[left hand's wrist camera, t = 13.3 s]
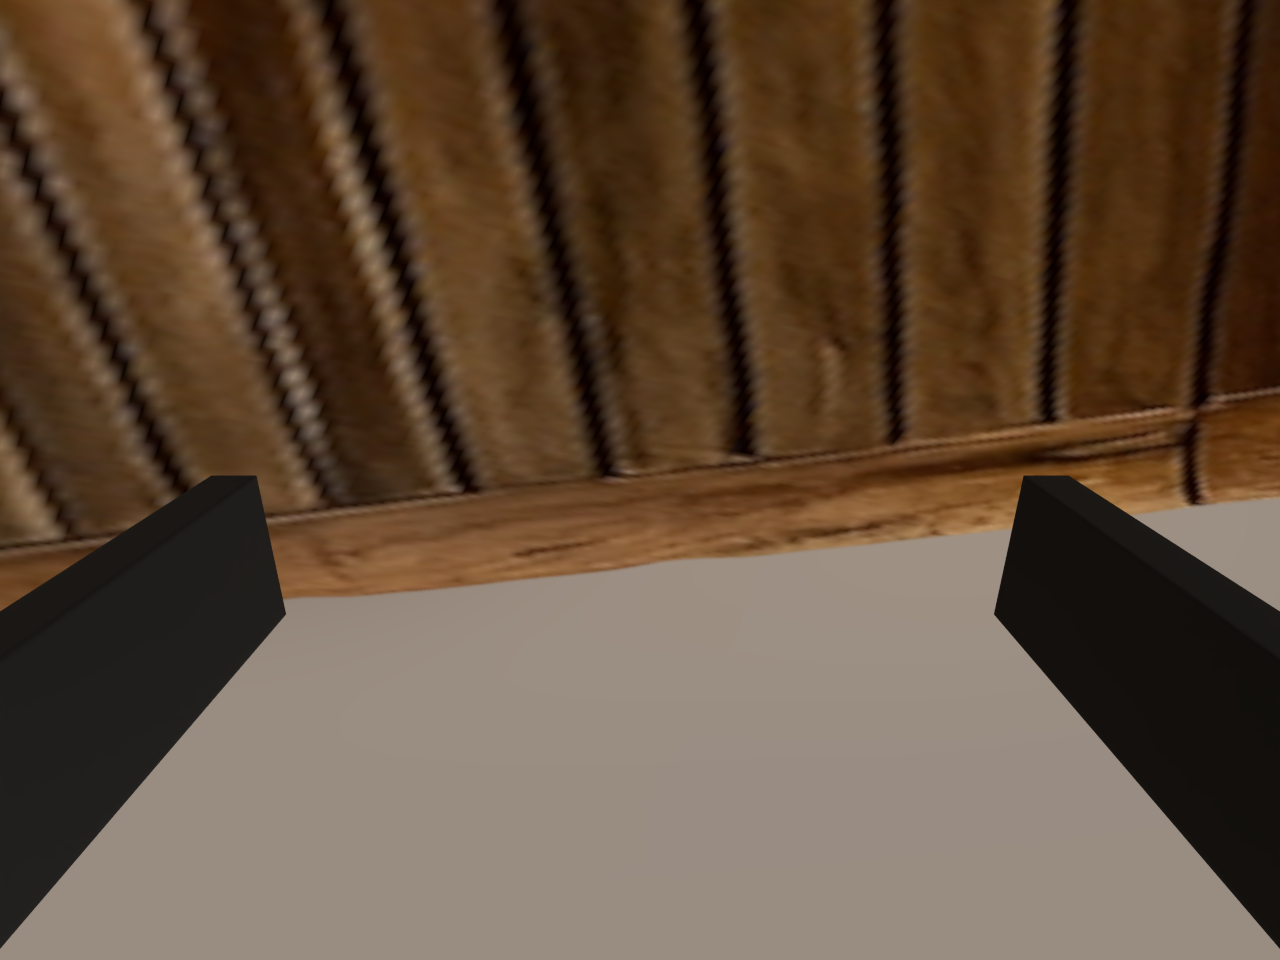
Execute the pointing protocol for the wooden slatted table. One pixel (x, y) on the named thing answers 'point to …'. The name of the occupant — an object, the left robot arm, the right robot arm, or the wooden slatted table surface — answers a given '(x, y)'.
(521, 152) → the wooden slatted table surface
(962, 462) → the wooden slatted table surface
